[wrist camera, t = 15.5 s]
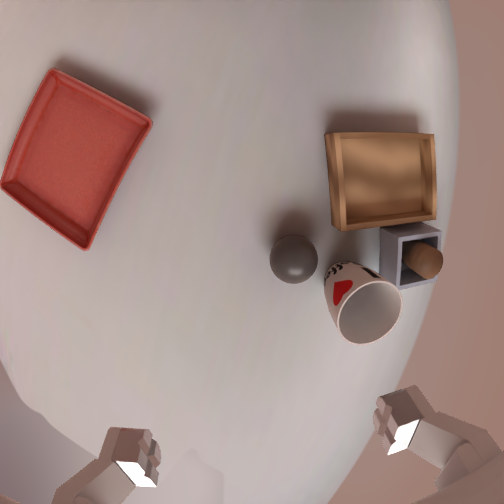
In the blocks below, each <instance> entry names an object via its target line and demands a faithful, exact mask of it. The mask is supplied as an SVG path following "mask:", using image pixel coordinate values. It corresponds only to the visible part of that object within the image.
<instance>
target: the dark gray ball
mask: <svg viewBox="0 0 504 504" xmlns="http://www.w3.org/2000/svg"><path fill="white" fill-rule="evenodd" d="M317 263H318V255H317V251H316V249H315V247H314V245H313V244H312V243H311V242H310V241H309V240H308V239H306V238H304V237H302V236H298V235H290V236H286V237H283V238H282V239H280V240H279V241H278V242H277V243H276V244H275V245H274V246H273V248H272V250H271V253H270V266H271V269H272V271H273V272H274V274H275V275H276V276H277V277H278V278H279V279H280V280H282V281H284V282H287V283H291V284H295V283H301V282H303V281H306V280H307V279H308V278H310V277H311V276H312V275H313V273H314V272H315V270H316V268H317Z"/></svg>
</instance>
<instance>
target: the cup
mask: <svg viewBox="0 0 504 504" xmlns="http://www.w3.org/2000/svg"><path fill="white" fill-rule="evenodd" d="M324 293H325V297H326V301H327V305H328V308H329V312H330V314H331V316H332V318H333V320H334V323H335V325H336V327H337V329H338V331H339V333H340V335H341V337H342V338H343V339H344V340H345V341H347V342H349V343H351V344H354V345H367V344H371V343H373V342H376V341H378V340H380V339H381V338H383V337H384V336H386V335H387V334H388V333H389V332H390V331H391V330H392V329H393V327H394V326H395V325H396V323H397V321H398V320H399V317H400V315H401V311H402V305H403V302H402V296H401V293H400V291H399V290H398V288H397V287H396V286H395V285H393V284H392V283H390V282H389V281H388V280H386V279H385V278H384V277H382V276H381V275H379V274H378V273H377V272H375V271H373V270H371V269H369V268H366V267H364V266H362V265H360V264H357V263H351V262H339V263H336V264H334V265H333V266H332V267H330V269H329V270H328V271H327V273H326V275H325V279H324Z"/></svg>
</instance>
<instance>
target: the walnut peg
mask: <svg viewBox="0 0 504 504" xmlns="http://www.w3.org/2000/svg"><path fill="white" fill-rule="evenodd" d="M401 262H402V263H404V264H405V265H407V266H408V267H409V268H411V269H412V270H414V271H415V272H416V273H418V274H419V275H421V276H422V277H423V278H425V279H431V278H433V277H435V276H436V275H437V274H438V273H439V272H440V270H441V268H442V264H443V256H442V253H441V252H440V251H439V250H437V249H435V248H434V247H432V246H430V245H428V244H426V243H424V242H422V241H421V240H419V239H416V240H410V241H403V242H402V259H401Z"/></svg>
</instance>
